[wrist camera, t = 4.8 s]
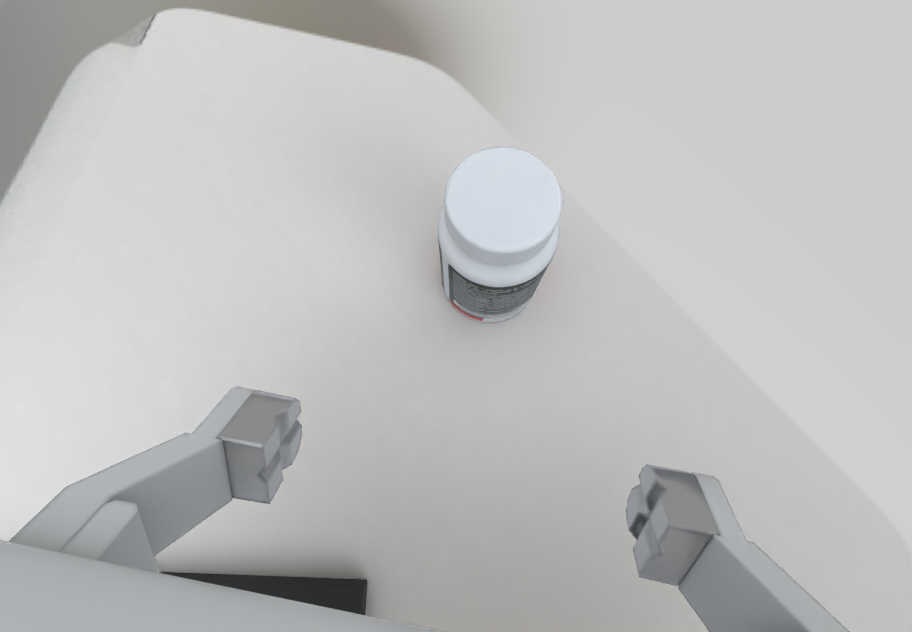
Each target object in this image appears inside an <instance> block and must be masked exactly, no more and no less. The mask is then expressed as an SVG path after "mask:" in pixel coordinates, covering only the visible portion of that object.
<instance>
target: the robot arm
mask: <svg viewBox="0 0 912 632" xmlns="http://www.w3.org/2000/svg"><path fill="white" fill-rule="evenodd" d="M300 412H301V407H300V401H299V400H298V399H296V398H291V397H287V396H282V395H277V394H273V393H268V392H263V391H259V390H257V391H256V390H252V389H247V388H243V387H238V386H236V387H234V388H232V389H231V390H229V392H228V393H227V394H226V395H225V396H224V397H223V399H222V400H221V401H220V402H219V403H218V404H217V406H216V407H215V408H214V409H213V410H212V411H211V412H210V414H209V415H208V416H207V417H206V418H205V419H204V421H203V422H202V423H201V424H200V425H199V426H198V428H197V429H196V430H195V431H194V432H193V433H192V434H190V433H184V434H182V435H180V436H178V437H175V438H173V439H171V440H169V441H166V442H164V443H162V444H160V445H158V446H155V447H153V448H151V449H149V450H147V451H144V452H142V453H140V454H138V455H135V456H133V457H131V458H129V459H127V460H124V461H122V462H120V463H118V464H116V465H113V466H111V467H109V468H107V469H105V470H102V471H100V472H98V473H96V474H93V475H91V476H89V477H87V478H85V479H82V480H80V481H78V482H76V483H74V484H71V485H69V486H67V487H65V488H64V489H63V490H62V491H61V492H60V493H59V494H58V495H57V496H56V497H55V498H54V499H53V500H52V501H50V502H49V503H48V504H47V505H46V506H45V507H44V508H43V509H42V510H41V511H40V512H39V513H38V514H37V515H36V516H35V517H34V518H33V519H32V520H31V521H30V522H28V523H27V524H26V525H25V526H24V527H23V528H22V529H21V530H20V531H19V532H18V533H17V534H16V535H15V536H14V537H13V538H12V539H11V540H10V541H9V542H8V541H3V540H0V632H444V631H439V630H434V629H429V628H424V627H419V626H414V625H409V624H405V623H400V622H395V621H390V620H385V619H380V618H375V617H371V616H366V615H361V614H356V613H351V612H346V611H341V610H337V609H332V608H327V607H322V606H317V605H312V604H307V603H303V602H298V601H293V600H288V599H283V598H278V597H274V596H269V595H264V594H259V593H254V592H249V591H244V590H240V589H235V588H230V587H225V586H220V585H215V584H211V583H206V582H201V581H196V580H191V579H186V578H181V577H177V576H172V575H167V574H162V573H160V571H159V568H158V565H157V563H156V560H155V557H154V556H155V555H156V554H157V553H159V552H160V551H162V550H163V549H164V548H166V547H167V546H169V545H170V544H171V543H173V542H174V541H176V540H177V539H178V538H180V537H181V536H183V535H184V534H185V533H187V532H188V531H190V530H191V529H192V528H194V527H195V526H197V525H198V524H199V523H201V522H202V521H204V520H205V519H206V518H208V517H209V516H211V515H212V514H213V513H215V512H216V511H218V510H219V509H220V508H222V507H223V506H225V505H226V504H227V503H229V502H230V501H232V498H237V499H243V500H249V501H255V502H261V503H267V504H270V502H271V500H272V499H273V497H274V495H275V493H276V491H277V490H278V488H279V486H280V484H281V483H282V481H283V474H282V470H283V469H285V468H287V467H288V466H290V465H292V463H293V461H294V459H295V457H296V455H297V452H298V449H299V446H300V443H301V436H302V425H301V424H300V423H299V422H298V420H297V417H298V416H299V414H300ZM639 479H640V483H641V484H640V485H638V486H636V487H634V488H633V489H632V490H631V493H630V495H629V497H628V501H627V508H626V516H627V524H628V529H629V531H630V532H631V533H632V535H633V536H634V537H635V538H636V539H637V542H636V544H635V546H634V547H633V551H634V556H635V560H636V564H637V569H638V573H639V577H640V578H645V579H649V580H654V581H658V582H662V583H667V584H671V585H676V586H679V587H678V589H679V590H680V591H681V593H682V594H683V596H684V597H685V598H686V600H687V601H688V602H689V604H690V605H691V607H692V608H693V609H694V611H695V612H696V614H697V615H698V616H699V618H700V619H701V621H702V622H703V623H704V625H705V626H706V627H707V629H708V630H709V632H850V631H848V630H847V629H846V628H845V627H844V626H843V625H842V624H841V623H840V622H839V621H838V620H837V619H836V618H834V617H833V616H832V615H831V614H830V613H829V612H828V611H827V610H826V609H825V608H824V607H823V606H822V605H820V604H819V603H818V602H817V601H816V600H815V599H814V598H813V597H812V596H811V595H810V594H809V593H808V592H806V591H805V590H804V589H803V588H802V587H801V586H800V585H799V584H798V583H797V582H796V581H795V580H793V579H792V578H791V577H790V576H789V575H788V574H787V573H786V572H785V571H784V570H783V569H782V568H781V567H779V566H778V565H777V564H776V563H775V562H774V561H773V560H772V559H771V558H770V557H769V556H768V555H767V554H765V553H764V552H763V551H762V550H761V549H760V548H759V547H758V546H757V545H756V544H755V543H752V542H748V541H747V540H746V538H745V536H744V534H743V532H742V530H741V528H740V525H739V523H738V521H737V519H736V517H735V515H734V512H733V510H732V508H731V506H730V504H729V502H728V500H727V497H726V495H725V493H724V491H723V489H722V487H721V484H720V482H719V480H718V479H716V478H715V477H714V476H709V475H704V474H698V473H692V472H691V473H690V472H686V471H681V470H675V469H669V468H664V467H658V466H653V465H646V466H644V467H643V468H642V470H641V472H640V474H639Z"/></svg>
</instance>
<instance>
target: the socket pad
mask: <svg viewBox="0 0 912 632" xmlns="http://www.w3.org/2000/svg"><path fill="white" fill-rule="evenodd" d="M160 573H162V574H167V575H172V576H177V577H181V578H186V579H191V580H196V581H201V582H206V583H211V584H215V585H220V586H225V587H230V588H235V589H240V590H244V591H249V592H254V593H259V594H264V595H269V596H274V597H278V598H283V599H288V600H293V601H298V602H303V603H307V604H312V605H317V606H322V607H327V608H332V609H337V610H341V611H346V612H351V613H356V614H361V615H365V607H366V594H367V580H360V579H333V578H306V577H279V576H252V575H225V574H198V573H171V572H160Z"/></svg>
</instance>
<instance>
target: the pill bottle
mask: <svg viewBox="0 0 912 632" xmlns="http://www.w3.org/2000/svg"><path fill="white" fill-rule="evenodd" d="M561 208H562V195H561V190H560V186H559V184H558V181H557V179H556V177H555V175H554V174H553V172H552V171H551V170H550V169H549V168H548V166H547V165H546V164H545V163H544V162H542V161H541V160H540V159H539V158H537V157H536V156H534V155H532V154H530V153H528V152H526V151H523V150H520V149H515V148H510V147H494V148H489V149H484V150H481V151H479V152H476V153H474V154H472V155H471V156H469V157H468V158H466V159H465V160H464V161H462V162H461V163H460V164H459V165H458V166H457V168H456V169H455V170H454V172H453V173H452V175H451V177H450V179H449V181H448V184H447V188H446V193H445V204H444V206H443V208H442V210H441V213H440V217H439V222H438V241H439V250H440V261H441V278H442V285H443V289H444V292H445V294H446V296H447V298H448V300H449V302H450V303H451V304H452V306H453V307H454V308H455V309H456V310H457V311H458V312H460V313H461V314H463V315H464V316H466V317H468V318H470V319H472V320H475V321H479V322H498V321H503V320H506V319H509V318H511V317H513V316H515V315H516V314H518V313H519V312H520V311H521V310H522V309H523V308H524V307H525V306H526V305H527V304H528V302H529V301H530V299H531V297H532V296H533V293H534V292H535V290H536V287H537V286H538V284H539V282H540V280H541V278H542V276H543V274H544V272H545V271H546V269H547V267H548V265H549V263H550V261H551V260H552V258H553V256H554V254H555V251H556V248H557V244H558V239H559V221H558V220H559V217H560V214H561Z"/></svg>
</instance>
